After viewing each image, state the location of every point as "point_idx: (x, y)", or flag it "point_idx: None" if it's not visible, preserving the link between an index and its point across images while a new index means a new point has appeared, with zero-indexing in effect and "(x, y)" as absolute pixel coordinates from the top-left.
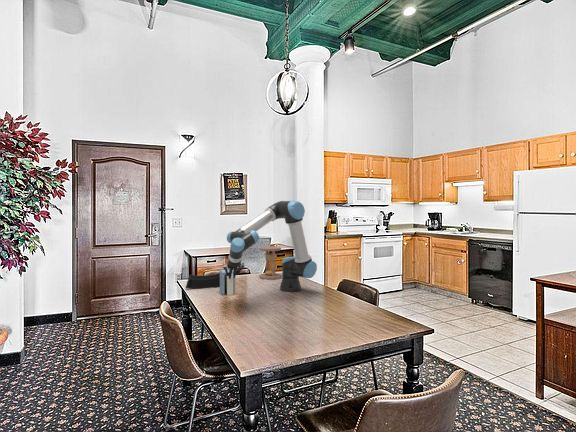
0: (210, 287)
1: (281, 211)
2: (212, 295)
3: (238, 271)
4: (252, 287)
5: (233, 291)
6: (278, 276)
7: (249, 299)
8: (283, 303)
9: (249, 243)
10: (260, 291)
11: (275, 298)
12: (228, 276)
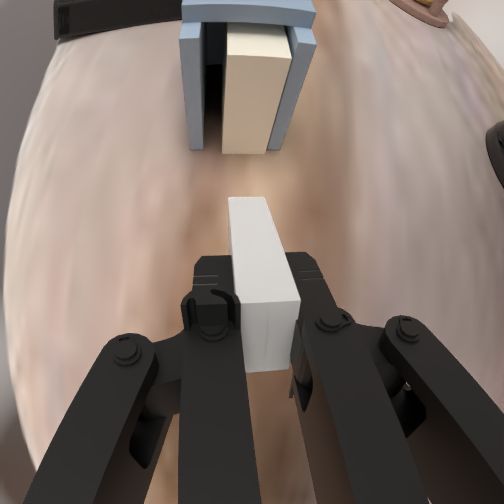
0: (163, 20)
1: None
2: (125, 144)
3: (426, 489)
4: (375, 64)
5: (270, 137)
6: (446, 22)
7: (363, 316)
8: None
9: None
10: (422, 144)
11: (483, 318)
12: (194, 267)
